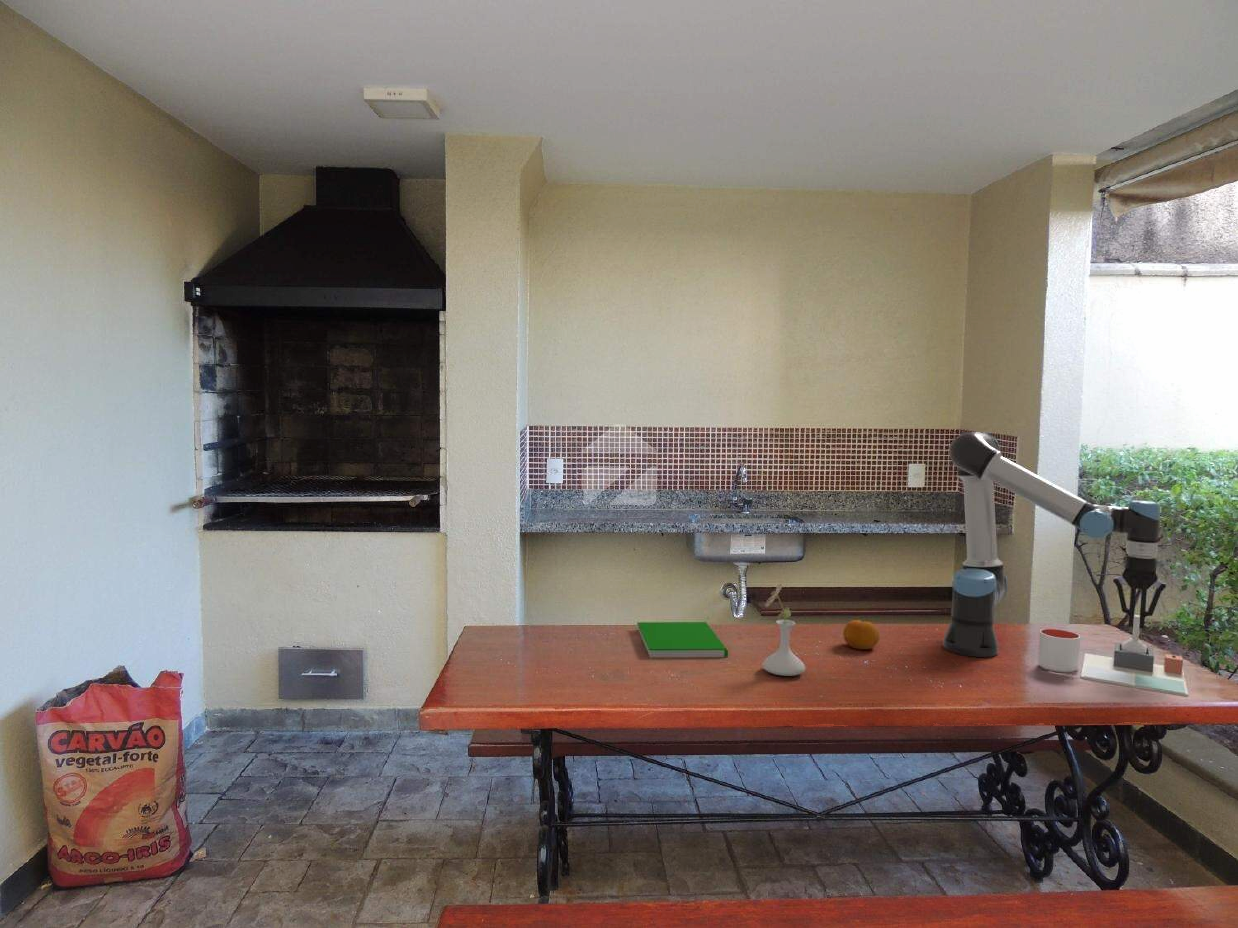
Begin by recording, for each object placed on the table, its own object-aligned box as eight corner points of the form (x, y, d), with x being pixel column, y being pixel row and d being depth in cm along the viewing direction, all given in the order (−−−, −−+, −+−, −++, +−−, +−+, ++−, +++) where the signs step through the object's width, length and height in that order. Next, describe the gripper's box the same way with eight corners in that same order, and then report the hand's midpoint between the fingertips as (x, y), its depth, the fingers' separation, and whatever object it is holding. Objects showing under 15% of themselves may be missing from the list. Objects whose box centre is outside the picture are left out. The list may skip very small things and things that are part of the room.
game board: (1081, 677, 228) (1082, 660, 228) (1085, 654, 249) (1086, 638, 249) (1187, 696, 216) (1189, 677, 215) (1182, 670, 237) (1183, 653, 237)
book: (649, 659, 236) (649, 649, 236) (636, 631, 264) (637, 622, 264) (727, 658, 239) (728, 648, 238) (707, 631, 266) (707, 622, 266)
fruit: (883, 646, 253) (884, 620, 253) (873, 654, 244) (874, 627, 244) (848, 640, 259) (850, 614, 258) (837, 648, 250) (839, 621, 249)
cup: (1083, 676, 230) (1085, 640, 229) (1043, 672, 232) (1045, 637, 231) (1071, 664, 240) (1073, 630, 239) (1033, 661, 242) (1035, 627, 241)
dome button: (1120, 662, 238) (1122, 639, 238) (1120, 656, 243) (1122, 634, 243) (1145, 666, 235) (1147, 643, 235) (1145, 660, 240) (1147, 638, 240)
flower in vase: (778, 663, 234) (781, 574, 232) (813, 673, 226) (817, 581, 224) (749, 673, 225) (753, 580, 223) (785, 684, 217) (789, 588, 215)
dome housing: (1113, 665, 238) (1114, 650, 237) (1113, 657, 246) (1115, 642, 245) (1152, 672, 233) (1154, 656, 233) (1151, 663, 241) (1153, 648, 241)
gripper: (1114, 555, 237) (1108, 637, 239) (1169, 560, 230) (1163, 645, 232) (1114, 551, 243) (1109, 631, 245) (1168, 556, 237) (1162, 639, 239)
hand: (1135, 638), depth 239 cm, fingers closed
